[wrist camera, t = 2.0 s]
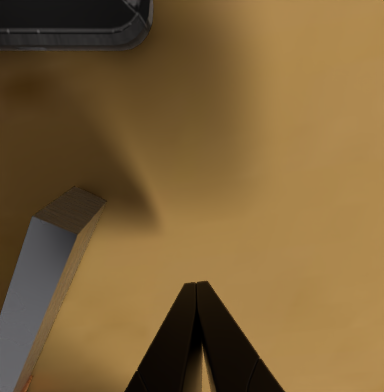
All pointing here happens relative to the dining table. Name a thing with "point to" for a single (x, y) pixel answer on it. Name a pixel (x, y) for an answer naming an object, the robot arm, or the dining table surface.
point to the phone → (74, 24)
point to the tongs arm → (43, 281)
